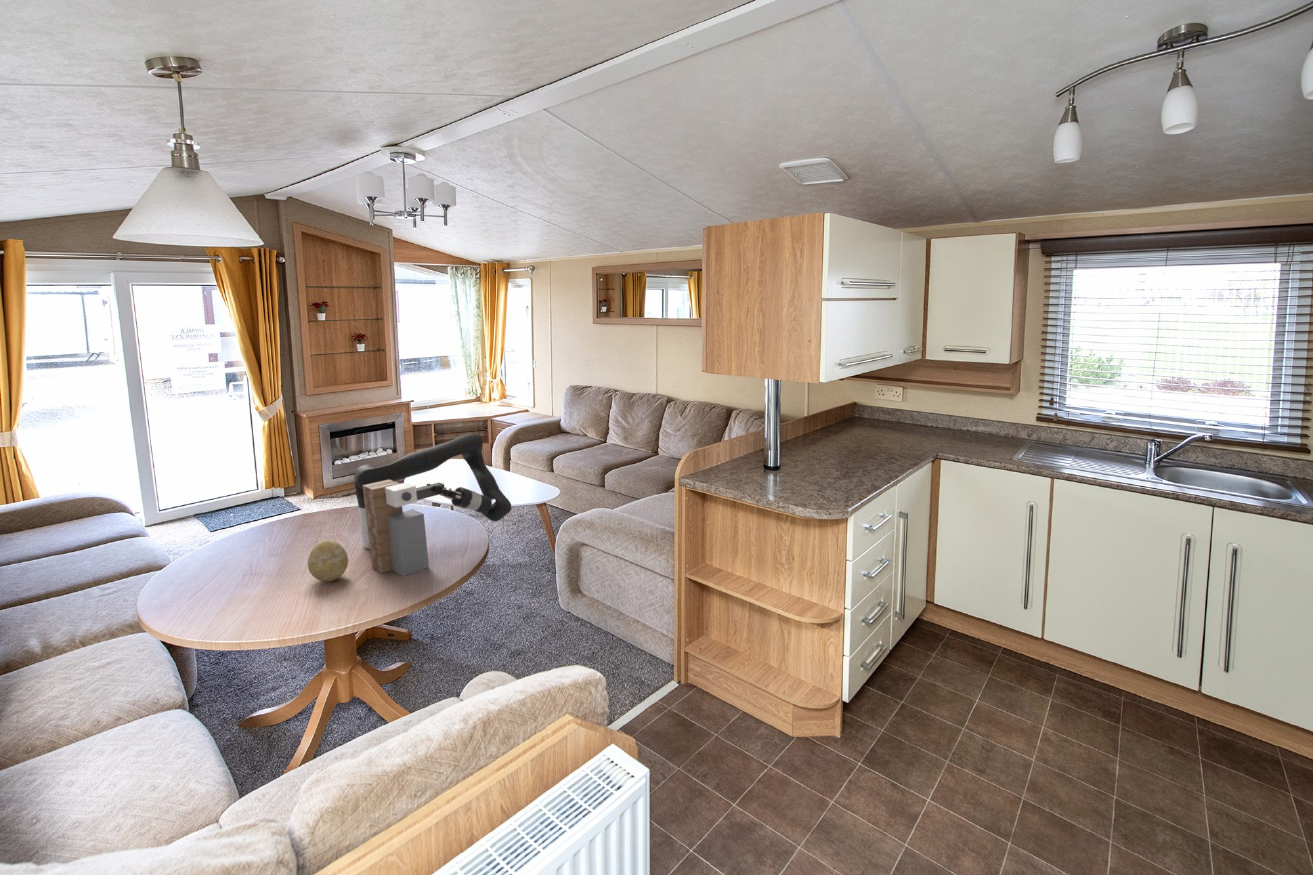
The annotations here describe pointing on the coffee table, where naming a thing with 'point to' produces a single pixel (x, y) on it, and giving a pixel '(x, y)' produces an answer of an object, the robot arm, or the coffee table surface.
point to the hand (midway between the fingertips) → (429, 487)
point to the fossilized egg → (327, 561)
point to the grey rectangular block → (408, 542)
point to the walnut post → (379, 523)
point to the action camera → (408, 493)
